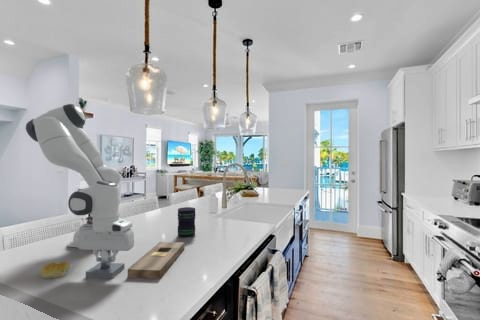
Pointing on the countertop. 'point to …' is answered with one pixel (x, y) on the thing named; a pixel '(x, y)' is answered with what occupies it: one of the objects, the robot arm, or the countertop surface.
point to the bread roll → (55, 270)
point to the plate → (105, 271)
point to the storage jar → (186, 222)
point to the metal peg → (105, 259)
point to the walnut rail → (156, 260)
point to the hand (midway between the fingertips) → (105, 261)
